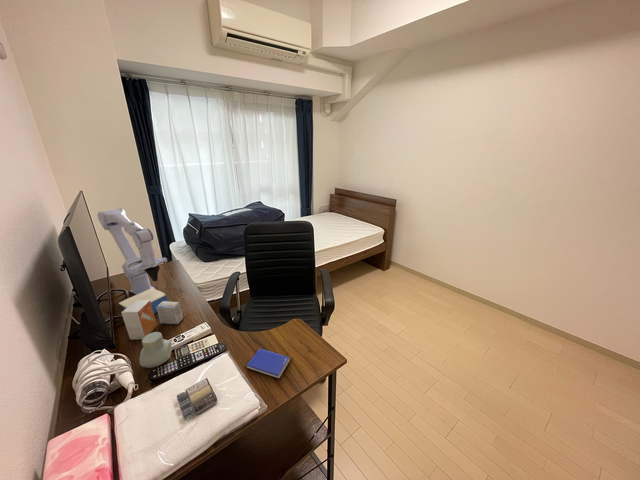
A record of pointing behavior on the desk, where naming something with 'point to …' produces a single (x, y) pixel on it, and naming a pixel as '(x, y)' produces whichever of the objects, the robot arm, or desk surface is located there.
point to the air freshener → (154, 350)
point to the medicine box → (169, 312)
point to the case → (155, 303)
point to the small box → (139, 319)
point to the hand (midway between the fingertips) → (155, 280)
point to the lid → (144, 297)
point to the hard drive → (268, 363)
